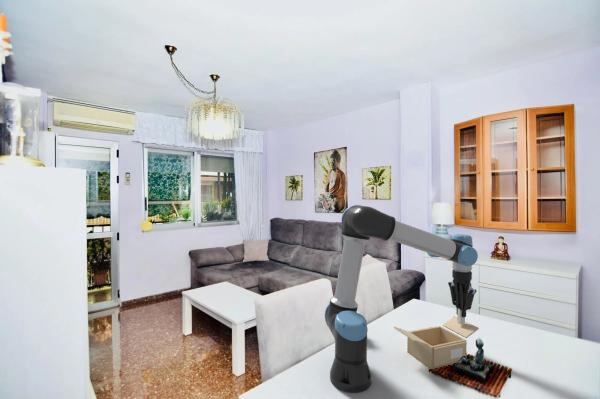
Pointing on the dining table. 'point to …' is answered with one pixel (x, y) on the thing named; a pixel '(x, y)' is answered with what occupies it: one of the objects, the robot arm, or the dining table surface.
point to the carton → (436, 347)
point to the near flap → (411, 336)
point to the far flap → (460, 327)
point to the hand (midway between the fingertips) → (461, 323)
